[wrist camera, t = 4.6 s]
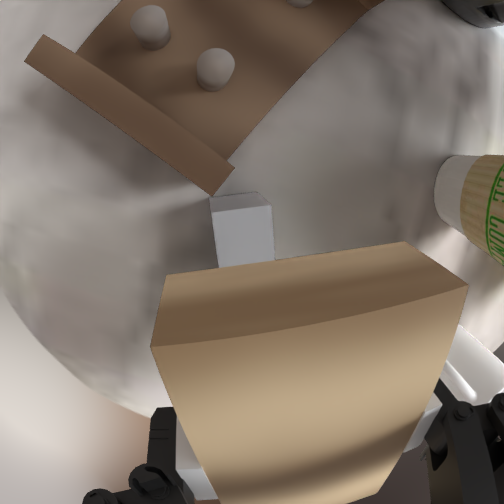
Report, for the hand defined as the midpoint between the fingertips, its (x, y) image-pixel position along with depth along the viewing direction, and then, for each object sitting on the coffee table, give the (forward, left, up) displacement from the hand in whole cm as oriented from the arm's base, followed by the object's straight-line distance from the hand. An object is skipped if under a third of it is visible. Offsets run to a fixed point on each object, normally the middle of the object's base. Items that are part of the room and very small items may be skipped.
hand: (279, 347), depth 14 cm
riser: (+1, 0, -8) cm, 8 cm away
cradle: (-12, -12, -8) cm, 19 cm away
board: (0, 0, +3) cm, 3 cm away
